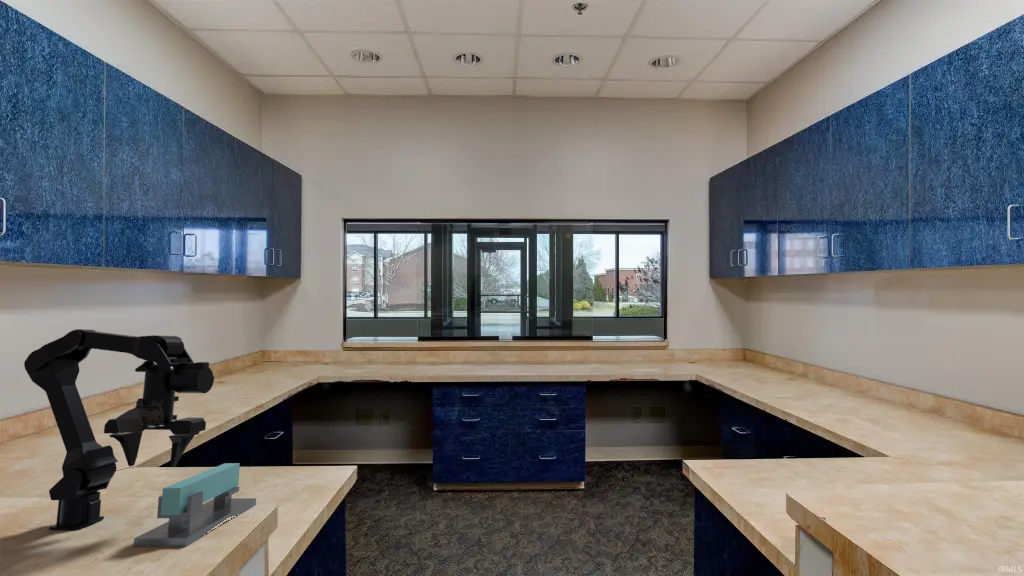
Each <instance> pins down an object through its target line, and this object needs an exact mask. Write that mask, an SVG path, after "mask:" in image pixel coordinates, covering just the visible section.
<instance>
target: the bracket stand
mask: <svg viewBox="0 0 1024 576" xmlns="http://www.w3.org/2000/svg"><path fill="white" fill-rule="evenodd" d="M238 492H240V486H236V487H234V488H232V489H230V490H228V491H226V492H224V493H222V494H220V495H218V496H216V497H214V498H212V499H210V500H208V501H206V502H204V503H203V492H197V493H195V494H193V495H191V496H189V497H188V500H187V511H186V512H184V513H182V514H180V515H161V506H162V495H160V496H158V503H157V514H156V515H157V517H156V519H168V521H166V522H164V523H163V524H160V525H158V526H156V527H154V528H152V529H150V530H149V531H146V532H144V533H142V534H140V535H138V536H136V537H134V538H133V547H134V548H136V547H137V548H143V547H144V548H145V547H147V548H148V547H149V548H153V547H154V548H155V547H157V548H161V547H163V548H165V547H166V548H167V547H169V548H178V547H179V548H181V547H183V548H184V547H185V548H186V547H187V546H190V545H192V544H193V543H194V542H196V541H198V540H199V538H200V539H201V538H203V537H204V536H203V535H204V534H206V533H207V532H208V531H210V530H211V529H212V528H214V527H215V526H217V525H218V524H220V523H221V522H223V521H224V520H226V519H227V518H229V517H232V516H235V515H238V514H240V515H242V514H243V513H245V512H246V511H248V510H250V509H252V508H254V507H255V506H256V505H257V497H256V498H255V497H254V498H253V497H252V498H250V497H248V498H247V497H245V498H243V497H242V498H241V497H240V498H239V497H238V498H235V497H232V496H233V495H235V494H236V493H238ZM238 516H239V515H238ZM206 535H207V534H206ZM202 536H203V537H202Z"/></svg>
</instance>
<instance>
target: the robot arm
mask: <svg viewBox="0 0 1024 576" xmlns="http://www.w3.org/2000/svg"><path fill="white" fill-rule="evenodd" d="M93 349H94V350H102V351H110V352H116V353H117V352H118V353H125V354H129V355H133V356H134V357H135V358H137V359H141V360H143V362H142V364H140V365H139V366H137V367H135V368H134V371H135V372H136V373H144V381H143V393H142V397H141V398H140V397H139V398H137V401H136V405H135V406H134V408H131V409H128V410H127V411H125V412H123V413H121V414H120V415H118V416H117V417H115V418H110V419H109V418H108V420H107V422H106V423H105V424H104V426H103V427H104V428H103V434H109V435H108V436H109V438H113V439H115V440H116V441H117V442H118V443H120V446H121V448H122V450H123V454H124V456H125V460H126V463H127V465H128V467H134V466H135V464H136V461H137V458H138V453H139V449H140V445H141V441H142V437H143V433H144V431H146V430H148V431H150V430H152V431H153V430H155V431H156V430H157V431H159V430H161V431H170V432H171V433H172V435H169V436H168V438H169V440H170V442H171V452H170V467H171V468H174V467H176V466H177V465H178V463H179V460H180V459H181V458H182V456H183V454H184V453H185V450H186V449H187V447H188V445H189V444H190V443H191V441H192V440H193V438H195V436H196V435H197V436H198V435H200V432H203V431H206V428H207V422H206V420H205V418H204V417H192V416H191V417H184V418H183V417H182V418H179V419H177V418H178V414H174V410H175V409H174V408H175V402H178V401H179V397H180V396H177V395H176V393H178V394H207V393H209V392H210V391H211V389H212V387H213V385H214V381H215V375H214V373H213V371H212V369H211V368H210V362H208V361H201V362H199V361H198V362H194V360H193V358H191V356H190V354H189V352H188V350H187V349H186V348H185V344H184V342H183V340H182V337H180V336H177V335H157V334H156V335H140V336H137V335H129V334H128V335H127V334H119V333H113V332H112V333H111V332H105V331H104V332H103V331H97V330H94V329H84V328H83V329H81V328H80V329H79V328H77V329H73V330H70V331H69V332H67V333H66V334H64V335H63V336H62V337H59V338H57V339H55V340H53V341H51V342H48V343H45V344H44V345H42V346H41V347H40V348H38V349H35V350H33V351H31V352H30V354H28V356H27V357H26V360H24V363H23V365H24V369H25V371H26V373H27V375H28V377H29V378H30V380H31V381H32V382H33V383H34V384H35V385H37V386H38V387H39V388H41V390H43V391H44V392H45V394H46V397H47V400H48V403H49V405H50V409H51V411H52V415H53V418H54V420H55V422H56V425H57V429H58V431H59V434H60V436H61V440H62V443H63V444H64V445H63V446H64V448H65V449H64V450H65V451H66V453H65V457H64V460H63V463H62V466H61V471H62V478H60V479H59V480H58V481H57V482H56V483H55V484H54V485H53V486H52V487H51V488H49V490H48V493H49V494H48V495H49V497H50V501H58V502H57V503H58V504H57V513H56V523H55V524H52V525H50V526H48V529H49V530H81V529H83V528H85V527H87V526H90V525H92V524H94V523H97V522H100V521H102V520H105V516H104V515H101V504H102V499H101V491H102V490H106V489H108V486H109V484H110V482H111V480H112V479H113V477H114V475H115V474H116V472H117V463H118V462H119V460H118V459H117V458H116V456H115V454H114V450H113V447H112V445H110V444H109V445H105V446H104V445H103V446H102V445H101V444H100V443H98V442H97V440H96V437H95V435H94V432H93V429H92V427H91V423H90V421H89V418H88V415H87V412H86V410H85V406H84V404H83V401H82V398H81V396H80V393H79V390H78V387H77V384H76V381H77V378H78V376H79V374H80V365H79V364H80V363H81V362H82V361H84V360H85V359H86V358H87V357H88V356H89V354H90V351H92V350H93Z"/></svg>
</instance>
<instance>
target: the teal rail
mask: <svg viewBox="0 0 1024 576" xmlns="http://www.w3.org/2000/svg"><path fill="white" fill-rule="evenodd" d="M240 465H241V463H239V462H237V463H236V462H235V463H234V462H233V463H232V462H231V463H230V462H229V463H227V462H224V463H222V464H219V465H218V466H215V467H213V468H210V469H207V470H205V471H202V472H201V473H198V474H195V475H193V476H190V477H187V478H185V479H183V480H180V481H178V482H177V481H176V482H175V483H172V484H170V485H167V486H165V487H162V493H161V494H162V495H161V496H162V506H161V515H180V514H182V513H184V512H186V511H187V500H188V497H189V496H191V495H193V494H195V493H197V492H203V504H204V503H206V502H208V501H210V500H212V499H214V497H216V496H218V495H220V494H222V493H224V492H226V491H228V490H230V489H232V488H234V487H239V482H240V469H241V468H240Z"/></svg>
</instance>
